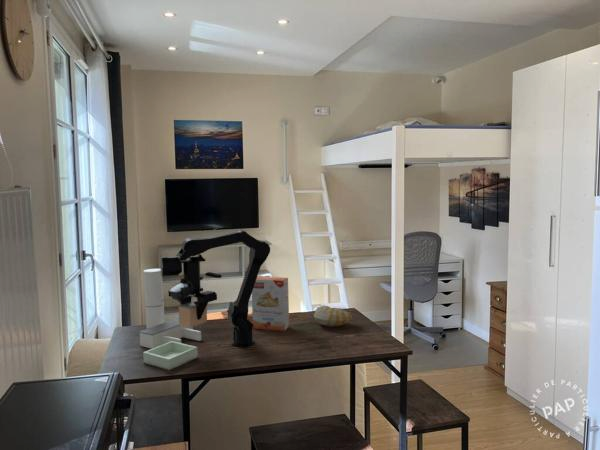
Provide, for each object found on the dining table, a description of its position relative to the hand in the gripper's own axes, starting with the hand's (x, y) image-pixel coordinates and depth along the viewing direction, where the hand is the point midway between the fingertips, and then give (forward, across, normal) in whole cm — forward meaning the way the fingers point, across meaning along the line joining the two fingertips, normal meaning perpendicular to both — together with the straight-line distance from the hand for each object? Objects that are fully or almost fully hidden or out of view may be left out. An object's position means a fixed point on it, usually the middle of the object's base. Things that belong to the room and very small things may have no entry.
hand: (193, 318), depth 164 cm
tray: (+12, -2, -9) cm, 16 cm away
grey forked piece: (+12, -15, +5) cm, 20 cm away
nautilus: (+12, +26, +52) cm, 59 cm away
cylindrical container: (+13, -32, +9) cm, 36 cm away
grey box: (+2, 0, 0) cm, 2 cm away
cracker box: (+12, +8, +35) cm, 38 cm away
